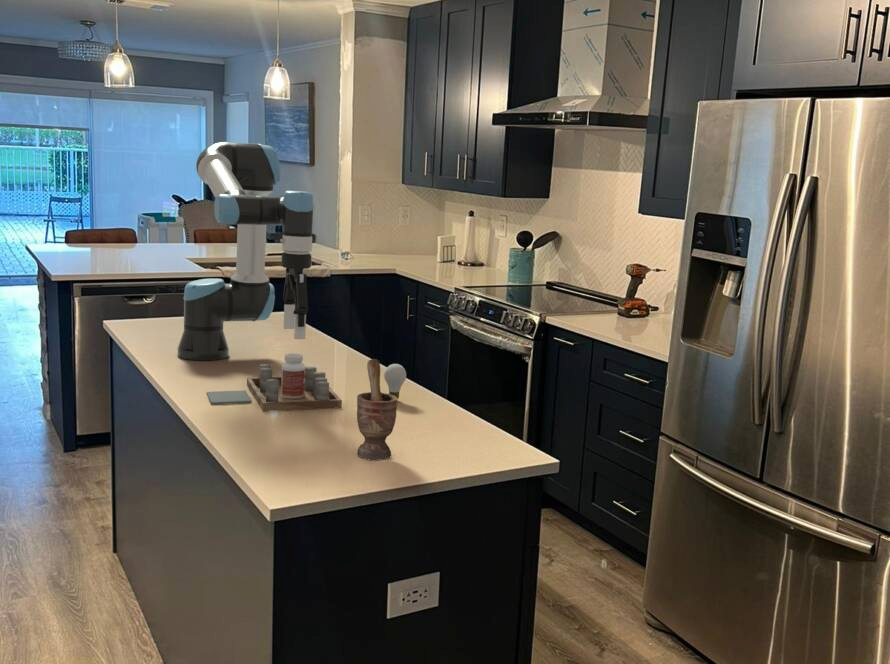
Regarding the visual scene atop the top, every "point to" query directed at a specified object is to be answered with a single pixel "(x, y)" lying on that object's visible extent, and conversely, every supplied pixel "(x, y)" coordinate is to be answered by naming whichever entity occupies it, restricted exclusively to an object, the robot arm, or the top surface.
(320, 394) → the tray
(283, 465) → the top surface
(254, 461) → the top surface
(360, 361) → the top surface
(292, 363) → the pill bottle
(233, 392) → the mat
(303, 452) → the top surface
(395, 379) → the light bulb
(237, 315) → the robot arm
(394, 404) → the mortar and pestle
